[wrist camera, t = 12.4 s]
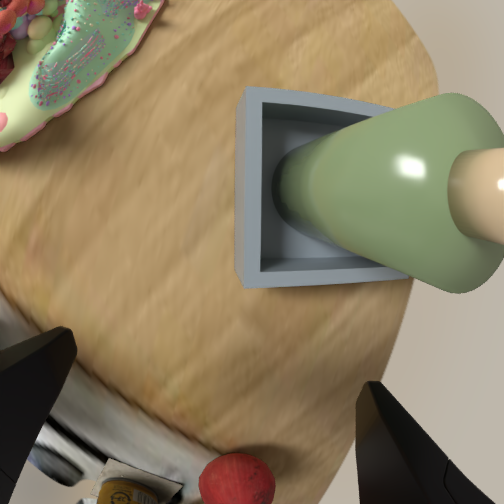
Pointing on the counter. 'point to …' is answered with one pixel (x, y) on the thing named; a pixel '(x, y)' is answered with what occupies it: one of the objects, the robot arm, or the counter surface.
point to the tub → (260, 195)
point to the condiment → (131, 486)
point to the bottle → (405, 191)
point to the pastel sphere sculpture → (61, 55)
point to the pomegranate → (237, 481)
